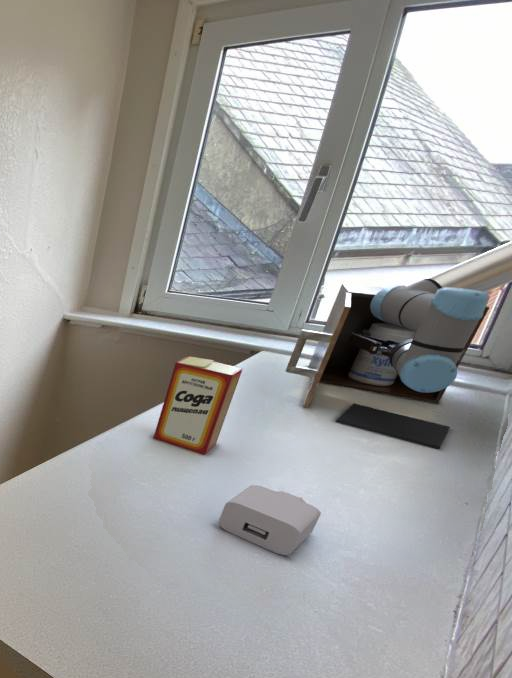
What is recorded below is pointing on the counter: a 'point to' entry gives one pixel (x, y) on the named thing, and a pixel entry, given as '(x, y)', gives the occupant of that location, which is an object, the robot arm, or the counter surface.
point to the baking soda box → (197, 403)
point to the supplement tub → (378, 357)
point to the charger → (269, 518)
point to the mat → (395, 425)
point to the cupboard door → (325, 354)
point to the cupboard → (347, 353)
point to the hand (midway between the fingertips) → (398, 339)
